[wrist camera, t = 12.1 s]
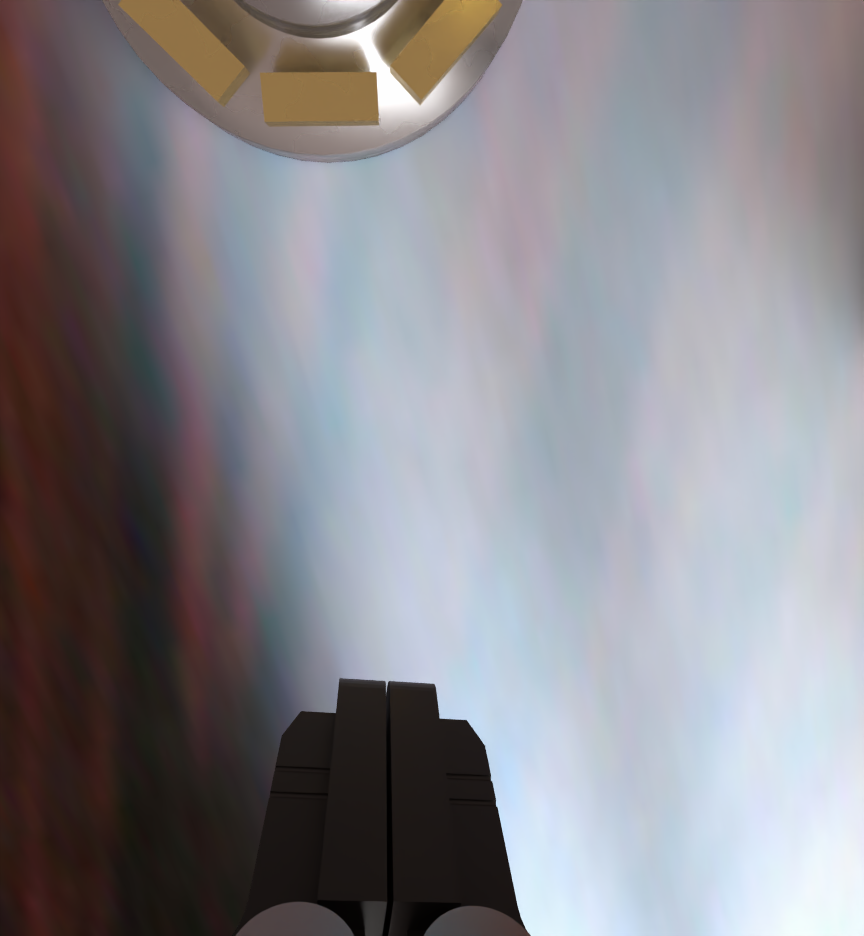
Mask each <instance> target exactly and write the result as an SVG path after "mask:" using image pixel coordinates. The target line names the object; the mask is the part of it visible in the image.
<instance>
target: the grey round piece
mask: <svg viewBox="0 0 864 936" xmlns="http://www.w3.org/2000/svg"><path fill="white" fill-rule="evenodd" d="M102 1H103V3H104V4H105V6H106V8H107V10H108V11H109V13H110V15H111V17H112V18H113V20H114V22H115V24H116V25H117V27H118V29H119V30H120V32H121V33H122V34H123V36H124V37H125V38H126V40H127V41H128V43H129V44H130V45H131V47H132V48H133V50H134V51H135V52H136V54H137V55H138V57H139V58H140V59H141V60H142V61H143V62H144V63H145V64H146V65H147V67H148V68H149V69H150V70H151V71H152V72H153V73H154V74H155V75H156V77H157V78H158V79H159V80H160V81H161V82H162V83H163V84H164V85H165V86H166V87H168V88H169V89H170V90H171V91H172V92H173V93H174V94H175V95H177V96H178V97H179V98H180V99H181V100H182V101H183V102H185V103H186V104H187V105H188V106H190V107H191V108H193V109H194V110H195V111H197V112H198V113H200V114H201V115H202V116H204V117H205V118H207V119H208V120H210V121H211V122H212V123H214V124H215V125H217V126H218V127H220V128H221V129H223V130H224V131H225V132H227V133H228V134H230V135H232V136H234V137H236V138H238V139H240V140H242V141H244V142H246V143H248V144H249V145H251V146H254V147H256V148H259V149H262V150H265V151H267V152H270V153H273V154H276V155H279V156H283V157H288V158H292V159H297V160H301V161H312V162H325V163H332V162H348V161H356V160H361V159H366V158H370V157H375V156H379V155H382V154H384V153H387V152H390V151H392V150H395V149H398V148H400V147H403V146H404V145H406V144H408V143H410V142H412V141H414V140H415V139H417V138H419V137H421V136H423V135H424V134H426V133H427V132H428V131H430V130H431V129H432V128H434V127H435V126H437V125H438V124H439V123H441V122H442V121H443V120H445V119H446V118H447V117H448V116H449V115H450V114H451V113H452V112H453V111H454V110H455V109H456V108H457V107H458V106H459V105H460V104H461V103H462V102H463V101H464V100H465V99H466V97H467V96H468V95H469V94H470V92H471V91H472V90H473V88H474V87H475V86H476V85H477V83H478V82H479V81H480V80H481V78H482V76H483V75H484V73H485V71H486V70H487V68H488V67H489V65H490V63H491V62H492V60H493V58H494V57H495V55H496V53H497V52H498V50H499V48H500V47H501V45H502V43H503V42H504V40H505V38H506V37H507V35H508V32H509V30H510V28H511V26H512V24H513V21H514V19H515V17H516V15H517V12H518V10H519V8H520V6H521V3H522V0H499V2H500V3H501V4H502V7H501V9H500V11H499V13H498V15H497V16H496V17H495V18H494V19H493V21H492V22H491V23H490V24H489V25H488V26H487V28H486V29H485V30H484V31H483V32H482V34H481V35H480V36H479V37H478V38H477V39H476V41H475V42H474V43H473V44H472V45H471V46H470V48H469V49H468V50H467V51H466V52H465V53H464V55H463V56H462V57H461V58H460V59H459V61H458V62H457V63H456V64H455V65H454V66H453V68H452V69H451V70H450V71H449V72H448V73H447V75H446V76H445V77H444V78H443V79H442V80H441V82H440V83H439V84H438V85H437V86H436V88H435V89H434V90H433V91H432V92H431V93H430V95H429V96H428V97H427V98H426V99H425V100H424V102H423V103H422V104H421V105H419V104H418V103H417V102H416V101H415V100H414V99H413V97H412V96H411V95H410V94H409V93H408V92H407V91H406V90H405V89H404V88H403V86H402V85H401V84H400V83H399V82H398V81H397V80H396V79H395V78H394V77H393V76H392V74H391V73H390V65H391V64H392V63H393V61H394V60H395V59H396V58H397V57H398V55H399V54H400V53H401V52H402V51H403V49H404V48H405V47H406V46H407V44H408V43H409V42H410V41H411V40H412V38H413V37H414V36H415V35H416V34H417V32H418V31H419V30H420V29H421V28H422V26H423V25H424V24H425V23H426V22H427V20H428V19H429V18H430V17H431V15H432V14H433V13H434V12H435V11H436V9H437V8H438V7H439V6H440V5H441V3H442V2H443V1H444V0H180V1H181V2H182V3H183V4H184V5H185V6H186V7H187V8H188V9H189V10H190V11H191V12H192V13H193V14H194V15H195V16H196V17H197V18H198V19H199V20H200V21H201V22H202V23H203V24H204V25H205V26H206V27H207V28H208V29H209V30H210V31H211V32H212V33H213V34H214V35H215V37H216V38H217V39H218V40H219V41H220V42H221V43H222V44H223V45H224V46H225V47H226V48H227V49H228V50H229V51H230V52H231V53H232V54H233V55H234V56H235V57H236V58H237V59H238V60H239V61H240V62H241V63H242V64H243V65H244V66H245V67H246V68H247V70H248V71H249V72H250V75H249V76H248V77H247V78H246V80H245V81H244V82H243V84H242V85H241V86H240V87H239V89H238V90H237V91H236V93H235V94H234V95H233V96H232V98H231V99H230V100H229V102H228V103H227V104H226V105H225V107H223V106H222V105H221V104H219V103H218V102H217V101H216V100H215V99H214V98H213V97H212V96H211V95H210V94H209V93H208V92H207V91H206V90H205V89H204V88H203V87H202V86H201V85H200V84H199V83H198V82H197V81H196V80H195V79H194V78H193V77H192V76H191V75H189V74H188V73H187V72H186V71H185V70H184V69H183V68H182V67H181V66H180V65H179V64H178V63H177V62H176V61H175V60H174V59H173V58H172V57H171V56H170V55H169V54H168V53H167V52H166V51H165V50H164V49H163V48H162V47H161V46H160V45H159V44H158V43H157V42H156V41H155V40H154V39H153V38H152V37H151V36H150V35H149V34H148V33H147V32H146V31H144V30H143V29H142V28H141V27H140V26H139V25H138V24H137V23H136V22H135V21H134V20H133V19H132V18H131V17H130V16H129V15H128V14H127V13H126V12H125V11H124V10H123V9H122V8H121V7H120V6H119V5H118V4H119V3H120V1H121V0H102ZM269 72H377V88H378V111H379V125H374V126H282V127H269V126H268V125H267V124H266V123H265V122H264V112H263V101H262V91H261V80H260V73H269Z"/></svg>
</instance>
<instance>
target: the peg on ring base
mask: <svg viewBox="0 0 864 936" xmlns="http://www.w3.org/2000/svg"><path fill="white" fill-rule="evenodd" d="M118 5H119V6H120V7H121V8H122V9H123V10H124V11H125V12H126V13H127V14H128V15H129V16H130V17H131V18H132V19H133V20H134V21H135V22H136V23H137V24H138V25H139V26H140V27H141V28H142V29H143V30H144V31H146V32H147V33H148V34H149V35H150V36H151V37H152V38H153V39H154V40H155V41H156V42H157V43H158V44H159V45H160V46H161V47H162V48H163V49H164V50H165V51H166V52H167V53H168V54H169V55H170V56H171V57H172V58H173V59H174V60H175V61H176V62H177V63H178V64H179V65H180V66H181V67H182V68H183V69H184V70H185V71H186V72H187V73H188V74H189V75H191V76H192V77H193V78H194V79H195V80H196V81H197V82H198V83H199V84H200V85H201V86H202V87H203V88H204V89H205V90H206V91H207V92H208V93H209V94H210V95H211V96H212V97H213V98H214V99H215V100H216V101H217V102H218V103H219V104H221V105H222V106H223V107H225V105H226V104H227V103H228V102H229V100H230V99H231V98H232V96H233V95H234V94H235V93H236V91H237V90H238V89H239V87H240V86H241V85H242V84H243V82H244V81H245V80H246V78H247V77H248V76H249V75H250V72H249V71H248V70H247V68H246V67H245V66H244V65H243V64H242V63H241V62H240V61H239V60H238V59H237V58H236V57H235V56H234V55H233V54H232V53H231V52H230V51H229V50H228V49H227V48H226V47H225V46H224V45H223V44H222V43H221V42H220V41H219V40H218V39H217V38H216V37H215V35H214V34H213V33H212V32H211V31H210V30H209V29H208V28H207V27H206V26H205V25H204V24H203V23H202V22H201V21H200V20H199V19H198V18H197V17H196V16H195V15H194V14H193V13H192V12H191V11H190V10H189V9H188V8H187V7H186V6H185V5H184V4H183V3H182V2H181V1H180V0H121V1H120V3H119V4H118ZM501 7H502V4H501V3H500V2H499V0H444V1H443V2H442V3H441V5H440V6H439V7H438V8H437V9H436V11H435V12H434V13H433V14H432V15H431V17H430V18H429V19H428V20H427V22H426V23H425V24H424V25H423V26H422V28H421V29H420V30H419V31H418V32H417V34H416V35H415V36H414V37H413V38H412V40H411V41H410V42H409V43H408V44H407V46H406V47H405V48H404V49H403V51H402V52H401V53H400V54H399V55H398V57H397V58H396V59H395V60H394V61H393V63H392V64H391V65H390V73H391V74H392V76H393V77H394V78H395V79H396V80H397V81H398V82H399V83H400V84H401V85H402V86H403V88H404V89H405V90H406V91H407V92H408V93H409V94H410V95H411V96H412V97H413V99H414V100H415V101H416V102H417V103H418V104H419V105H421V104H422V103H423V102H424V100H425V99H426V98H427V97H428V96H429V95H430V93H431V92H432V91H433V90H434V89H435V88H436V86H437V85H438V84H439V83H440V82H441V80H442V79H443V78H444V77H445V76H446V75H447V73H448V72H449V71H450V70H451V69H452V68H453V66H454V65H455V64H456V63H457V62H458V61H459V59H460V58H461V57H462V56H463V55H464V53H465V52H466V51H467V50H468V49H469V48H470V46H471V45H472V44H473V43H474V42H475V41H476V39H477V38H478V37H479V36H480V35H481V34H482V32H483V31H484V30H485V29H486V28H487V26H488V25H489V24H490V23H491V22H492V21H493V19H494V18H495V17H496V16H497V15H498V13H499V11H500V9H501ZM260 80H261V91H262V101H263V112H264V122H265V123H266V124H267V125H268V126H269V127H282V126H374V125H379V111H378V88H377V72H269V73H260Z"/></svg>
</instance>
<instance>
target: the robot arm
mask: <svg viewBox="0 0 864 936" xmlns="http://www.w3.org/2000/svg"><path fill="white" fill-rule="evenodd" d="M232 936H530V934H529V933H528V932H527V930H526V929H525V926H524V924H523V922H522V919H521V917H520V913H519V910H518V906H517V901H516V896H515V891H514V887H513V882H512V877H511V872H510V867H509V862H508V857H507V852H506V847H505V842H504V837H503V832H502V827H501V823H500V818H499V813H498V808H497V807H496V798H495V793H494V788H493V783H492V781H491V773H490V768H489V764H488V759H487V754H486V749H485V745H484V744H483V742H482V741H481V740H480V738H479V737H478V735H477V734H476V733H475V731H474V730H473V728H472V727H471V726H470V724H469V723H468V721H467V720H453V719H439V710H438V702H437V693H436V687H435V684H427V683H411V682H395V681H389V682H388V686H387V693H386V683H385V681H375V680H359V679H343V678H340V679H339V689H338V699H337V709H336V713H323V712H305V711H301V712H300V713H299V715H298V716H297V717H296V718H295V720H294V721H293V722H292V723H291V725H290V726H289V727H288V729H287V730H286V731H285V732H284V734H283V735H282V738H281V742H280V747H279V752H278V757H277V762H276V768H275V772H274V777H273V781H272V786H271V791H270V798H269V801H268V806H267V811H266V816H265V820H264V825H263V830H262V835H261V840H260V845H259V850H258V854H257V859H256V864H255V869H254V874H253V879H252V884H251V889H250V893H249V898H248V902H247V906H246V909H245V912H244V915H243V917H242V919H241V921H240V924H239V925H238V927H237V928H236V930H235V932H234V933H233V935H232Z"/></svg>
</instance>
